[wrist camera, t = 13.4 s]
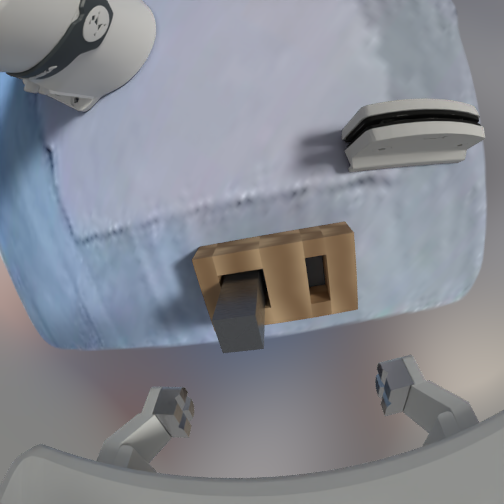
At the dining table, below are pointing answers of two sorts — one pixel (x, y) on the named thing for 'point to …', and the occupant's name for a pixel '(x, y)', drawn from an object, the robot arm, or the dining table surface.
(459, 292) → the dining table surface
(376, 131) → the grey piece
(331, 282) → the socket block
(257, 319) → the steel peg
